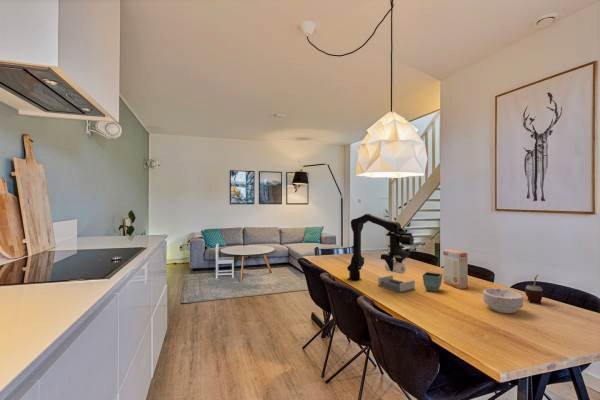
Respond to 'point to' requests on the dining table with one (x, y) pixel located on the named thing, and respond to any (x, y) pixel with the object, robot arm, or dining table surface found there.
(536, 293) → the mate gourd
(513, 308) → the grey stone bowl
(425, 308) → the dining table surface
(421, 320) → the dining table surface
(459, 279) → the cracker box
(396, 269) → the paper roll
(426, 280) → the flower pot
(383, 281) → the cradle
